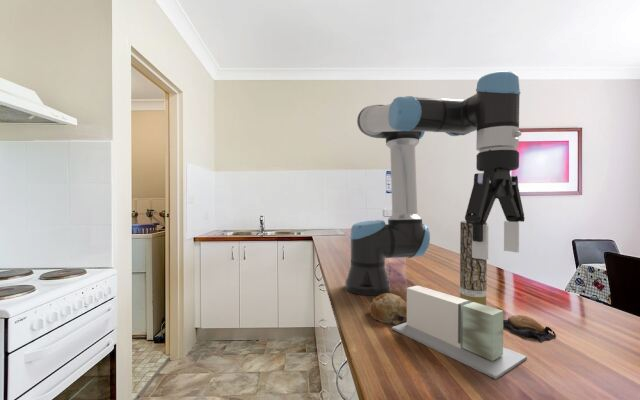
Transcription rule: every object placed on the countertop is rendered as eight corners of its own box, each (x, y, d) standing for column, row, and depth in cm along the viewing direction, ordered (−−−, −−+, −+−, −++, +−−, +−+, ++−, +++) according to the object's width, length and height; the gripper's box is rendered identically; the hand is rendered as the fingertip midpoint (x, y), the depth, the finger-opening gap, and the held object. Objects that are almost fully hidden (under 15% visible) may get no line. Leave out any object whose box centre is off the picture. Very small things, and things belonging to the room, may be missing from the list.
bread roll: (381, 339, 75) (390, 315, 72) (359, 309, 84) (367, 286, 80) (410, 331, 80) (420, 308, 77) (387, 303, 88) (395, 281, 85)
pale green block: (462, 347, 62) (462, 305, 62) (473, 342, 64) (473, 301, 64) (492, 361, 57) (492, 315, 57) (502, 354, 59) (503, 310, 59)
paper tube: (489, 313, 83) (490, 222, 83) (463, 311, 84) (463, 221, 84) (481, 304, 90) (482, 220, 89) (457, 302, 91) (457, 219, 91)
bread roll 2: (492, 328, 75) (492, 313, 75) (513, 321, 79) (513, 307, 79) (539, 346, 66) (539, 329, 65) (560, 338, 69) (560, 322, 69)
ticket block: (392, 329, 73) (392, 289, 73) (424, 318, 79) (424, 281, 79) (496, 379, 53) (496, 324, 53) (526, 358, 59) (527, 310, 59)
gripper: (486, 141, 52) (485, 265, 52) (542, 154, 66) (541, 251, 66) (445, 147, 58) (445, 258, 58) (505, 158, 72) (504, 246, 72)
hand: (496, 254), depth 62 cm, fingers open, 13 cm apart
